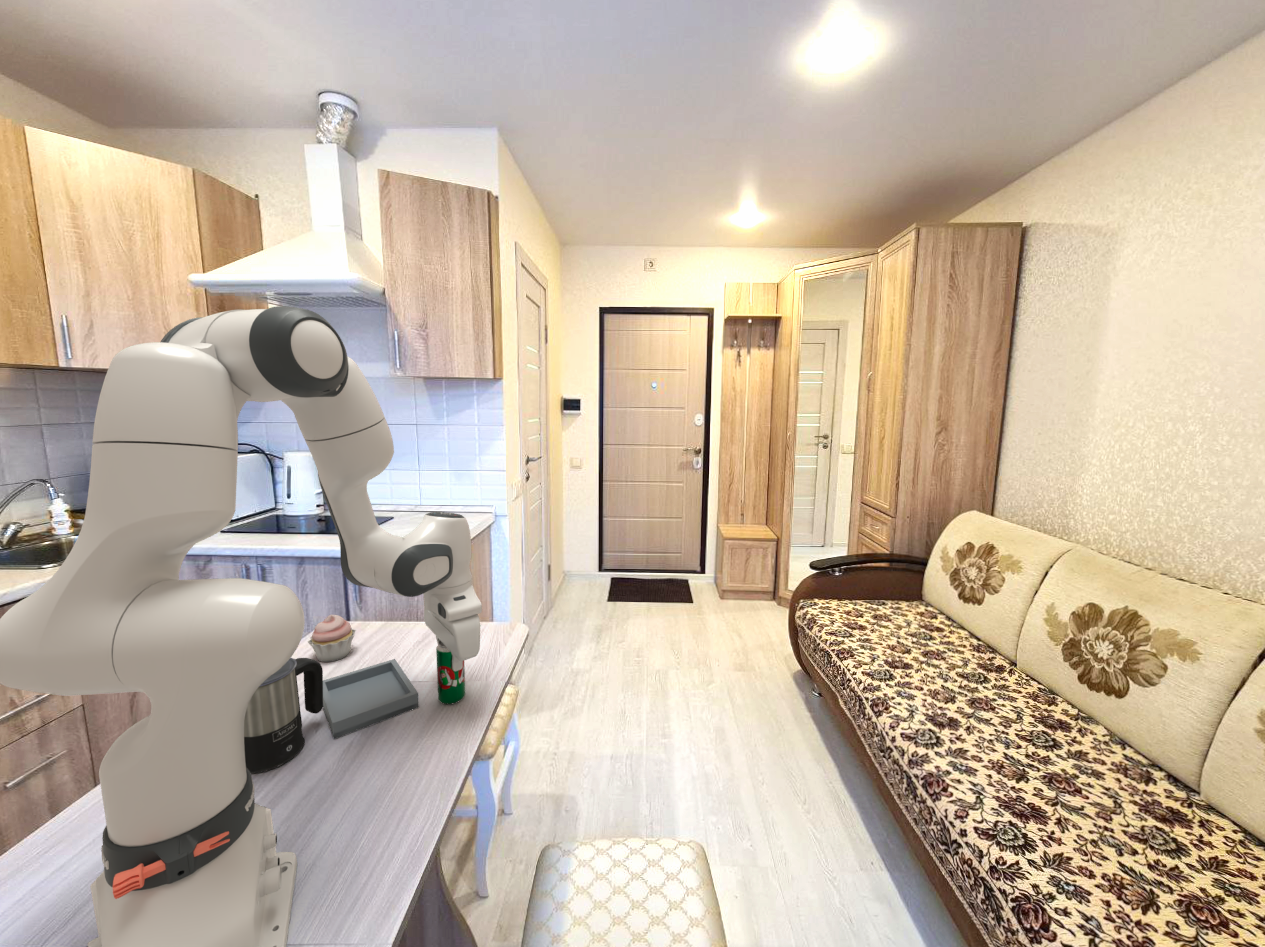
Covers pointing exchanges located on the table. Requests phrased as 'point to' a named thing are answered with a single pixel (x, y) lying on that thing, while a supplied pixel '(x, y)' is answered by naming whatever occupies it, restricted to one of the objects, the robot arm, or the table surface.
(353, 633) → the cupcake
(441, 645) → the soda can
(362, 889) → the table surface
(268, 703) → the milk frother
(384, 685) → the tray
